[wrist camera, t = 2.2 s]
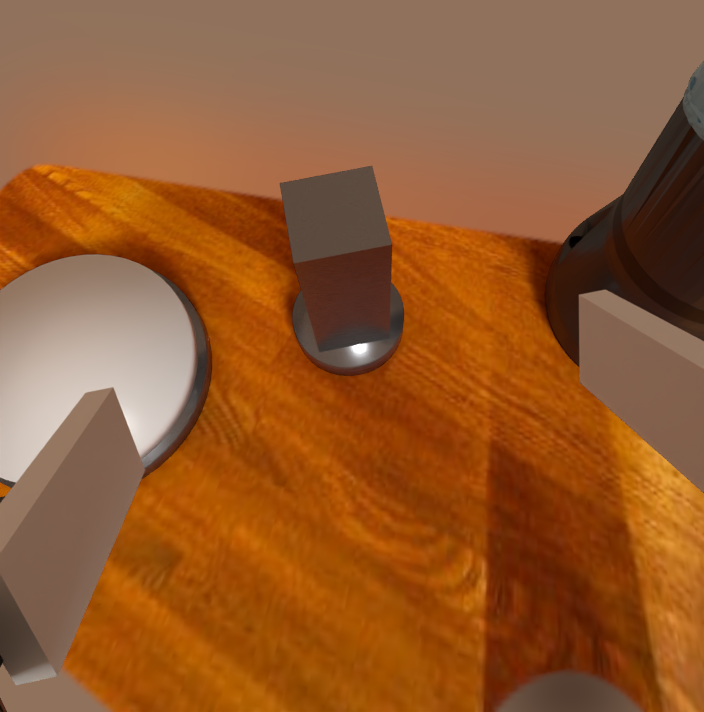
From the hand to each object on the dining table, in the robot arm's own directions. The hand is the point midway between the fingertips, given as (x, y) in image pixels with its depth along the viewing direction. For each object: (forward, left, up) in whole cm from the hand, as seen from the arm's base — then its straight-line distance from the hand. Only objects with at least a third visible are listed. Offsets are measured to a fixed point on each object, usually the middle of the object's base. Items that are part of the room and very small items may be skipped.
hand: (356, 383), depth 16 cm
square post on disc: (-1, -12, -23) cm, 26 cm away
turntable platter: (+19, -12, -21) cm, 31 cm away
